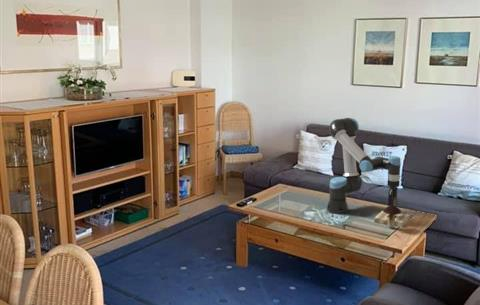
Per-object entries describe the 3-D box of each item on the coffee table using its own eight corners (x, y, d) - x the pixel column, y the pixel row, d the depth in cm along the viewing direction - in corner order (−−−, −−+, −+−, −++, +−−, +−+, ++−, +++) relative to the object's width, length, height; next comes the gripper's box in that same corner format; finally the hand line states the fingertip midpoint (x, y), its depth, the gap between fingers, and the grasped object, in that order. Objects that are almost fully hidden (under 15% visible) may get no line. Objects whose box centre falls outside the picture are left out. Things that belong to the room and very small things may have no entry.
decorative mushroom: (380, 225, 321) (381, 203, 318) (396, 224, 322) (397, 202, 319) (386, 231, 311) (387, 208, 308) (403, 230, 312) (404, 207, 309)
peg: (387, 218, 329) (388, 197, 326) (389, 216, 332) (390, 196, 329) (393, 219, 327) (395, 198, 324) (395, 217, 330) (396, 197, 327)
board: (373, 222, 327) (374, 218, 327) (382, 214, 342) (382, 210, 341) (401, 227, 318) (401, 222, 317) (408, 219, 332) (409, 214, 332)
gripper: (395, 183, 315) (393, 218, 320) (403, 177, 329) (401, 211, 334) (383, 182, 319) (382, 216, 324) (391, 176, 333) (390, 209, 338)
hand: (391, 214), depth 329 cm, fingers closed on peg, 4 cm apart
